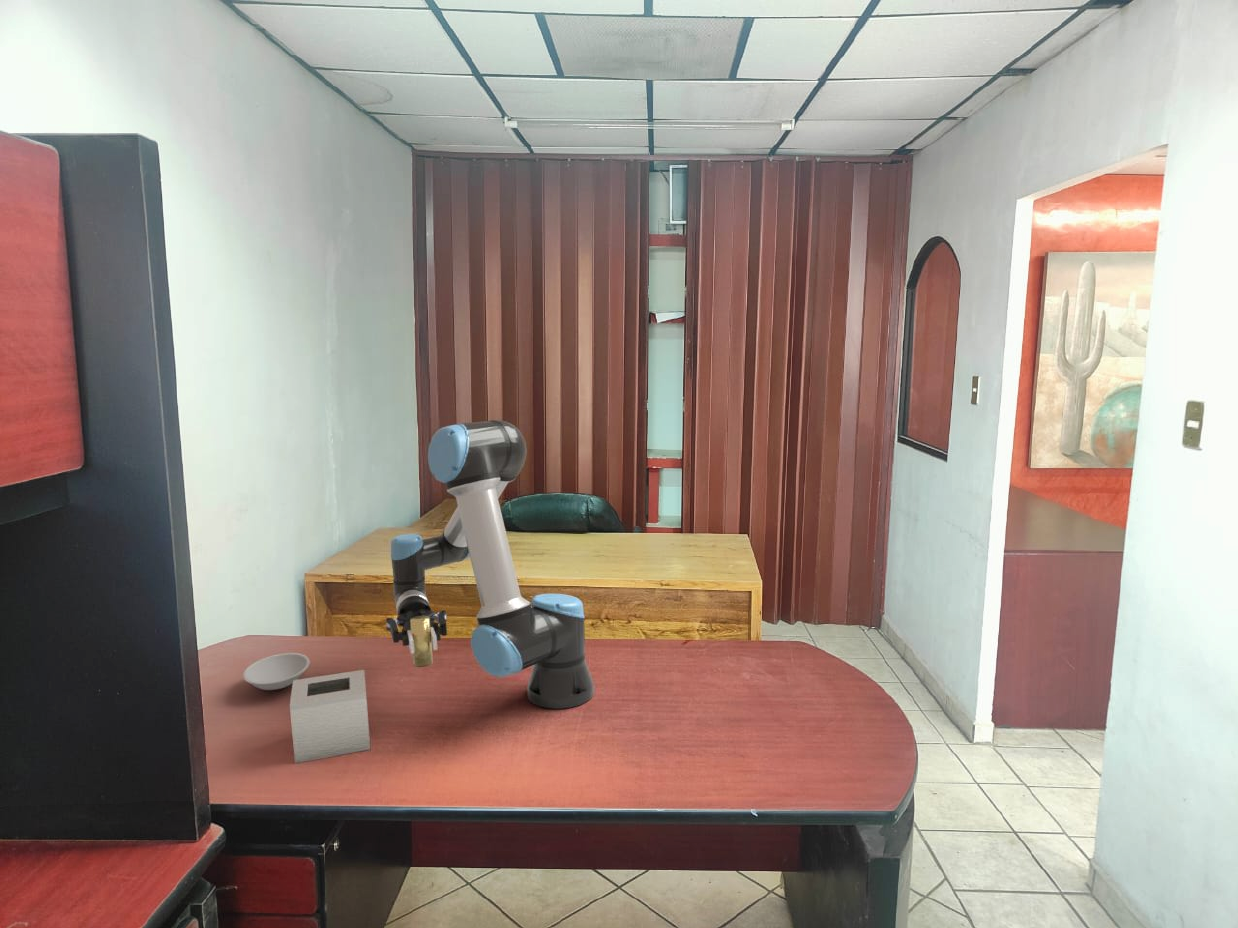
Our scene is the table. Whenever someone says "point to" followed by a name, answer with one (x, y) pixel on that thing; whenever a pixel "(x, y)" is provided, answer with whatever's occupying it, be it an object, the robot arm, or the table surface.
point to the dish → (276, 671)
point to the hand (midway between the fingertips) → (423, 645)
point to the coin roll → (421, 641)
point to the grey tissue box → (329, 716)
